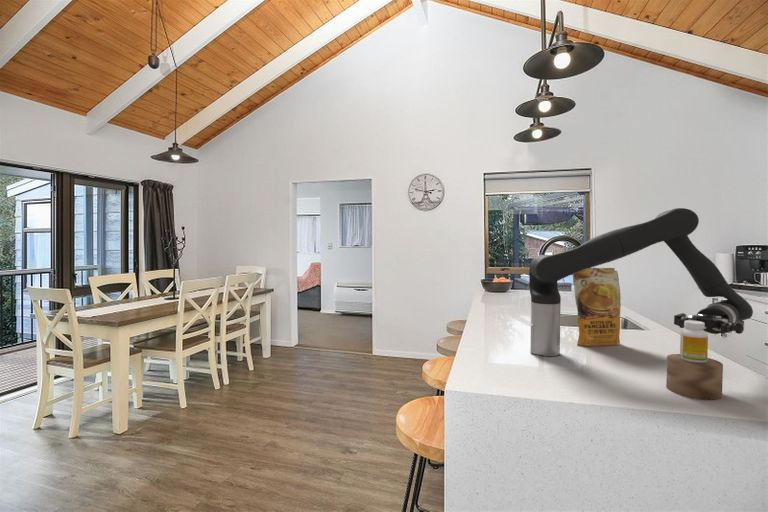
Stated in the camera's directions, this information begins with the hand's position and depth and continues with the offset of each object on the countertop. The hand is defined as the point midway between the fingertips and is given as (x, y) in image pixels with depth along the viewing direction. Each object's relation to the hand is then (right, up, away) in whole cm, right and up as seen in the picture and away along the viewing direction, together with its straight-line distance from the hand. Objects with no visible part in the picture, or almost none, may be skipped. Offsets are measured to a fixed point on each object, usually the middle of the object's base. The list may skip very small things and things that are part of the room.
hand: (701, 326), depth 101 cm
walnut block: (-4, -16, -3) cm, 17 cm away
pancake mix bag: (-5, -14, +41) cm, 44 cm away
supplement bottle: (-4, -8, -3) cm, 10 cm away
